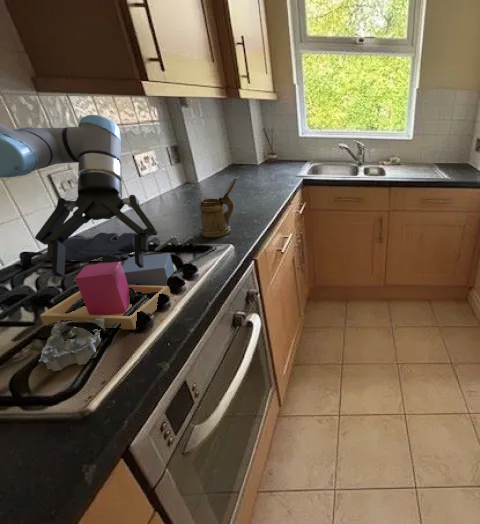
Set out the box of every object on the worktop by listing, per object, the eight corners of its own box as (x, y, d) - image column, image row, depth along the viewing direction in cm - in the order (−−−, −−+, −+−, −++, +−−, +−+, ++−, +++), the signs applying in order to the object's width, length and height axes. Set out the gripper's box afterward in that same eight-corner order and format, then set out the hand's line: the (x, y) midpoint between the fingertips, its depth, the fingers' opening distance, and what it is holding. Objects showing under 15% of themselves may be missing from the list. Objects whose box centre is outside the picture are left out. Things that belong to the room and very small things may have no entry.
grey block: (125, 292, 76) (118, 273, 74) (134, 275, 84) (128, 257, 82) (169, 286, 79) (164, 267, 77) (174, 270, 87) (169, 252, 85)
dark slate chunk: (77, 241, 102) (72, 227, 100) (153, 241, 104) (149, 226, 102) (37, 263, 88) (30, 246, 86) (126, 261, 90) (120, 245, 88)
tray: (44, 326, 64) (39, 315, 63) (95, 293, 76) (91, 283, 74) (134, 329, 64) (130, 318, 63) (171, 295, 75) (168, 286, 74)
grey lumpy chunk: (65, 336, 62) (57, 318, 60) (113, 328, 64) (106, 310, 62) (38, 376, 53) (28, 356, 51) (95, 364, 55) (87, 345, 54)
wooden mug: (244, 234, 112) (237, 180, 104) (200, 238, 107) (189, 182, 99) (244, 226, 119) (236, 175, 111) (202, 229, 115) (192, 177, 107)
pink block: (90, 318, 66) (74, 278, 62) (99, 302, 71) (85, 265, 67) (125, 312, 68) (112, 273, 64) (132, 297, 73) (120, 261, 69)
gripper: (169, 186, 81) (174, 267, 74) (39, 192, 72) (33, 284, 66) (160, 168, 74) (165, 255, 68) (16, 172, 65) (6, 272, 59)
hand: (100, 270), depth 67 cm, fingers open, 13 cm apart
